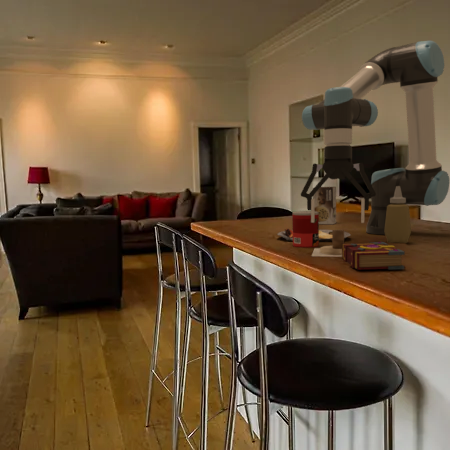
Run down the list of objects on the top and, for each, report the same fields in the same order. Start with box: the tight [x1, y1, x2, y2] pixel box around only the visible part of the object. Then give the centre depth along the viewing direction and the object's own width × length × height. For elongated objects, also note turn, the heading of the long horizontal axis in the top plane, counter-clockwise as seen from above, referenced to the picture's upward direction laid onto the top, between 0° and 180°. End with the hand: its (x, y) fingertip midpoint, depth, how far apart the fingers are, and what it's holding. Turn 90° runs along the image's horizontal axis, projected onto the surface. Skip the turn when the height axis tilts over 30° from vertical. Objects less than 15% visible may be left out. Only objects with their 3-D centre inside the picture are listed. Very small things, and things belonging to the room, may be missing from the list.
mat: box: [311, 247, 342, 258], centre depth 143 cm, size 14×14×1 cm
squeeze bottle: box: [384, 186, 412, 244], centre depth 160 cm, size 8×8×18 cm
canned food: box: [292, 210, 320, 249], centre depth 156 cm, size 8×8×11 cm
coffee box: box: [312, 186, 337, 225], centre depth 222 cm, size 9×6×16 cm
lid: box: [319, 229, 345, 255], centre depth 143 cm, size 10×10×6 cm
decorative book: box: [341, 241, 405, 271], centre depth 126 cm, size 11×16×5 cm
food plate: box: [276, 228, 352, 243], centre depth 176 cm, size 25×23×4 cm
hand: (337, 222), depth 142 cm, fingers open, 13 cm apart
